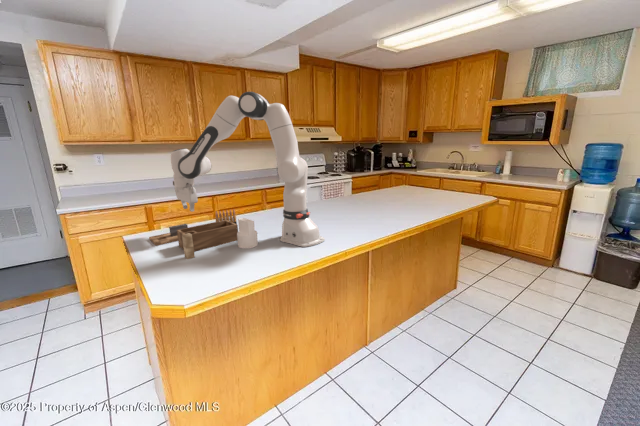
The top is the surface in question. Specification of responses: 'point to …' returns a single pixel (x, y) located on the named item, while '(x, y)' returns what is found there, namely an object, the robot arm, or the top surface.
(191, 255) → the pin
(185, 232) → the toolbox
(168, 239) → the lid
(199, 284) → the top surface
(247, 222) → the base with upright slab
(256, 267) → the top surface
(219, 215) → the ammunition clip
